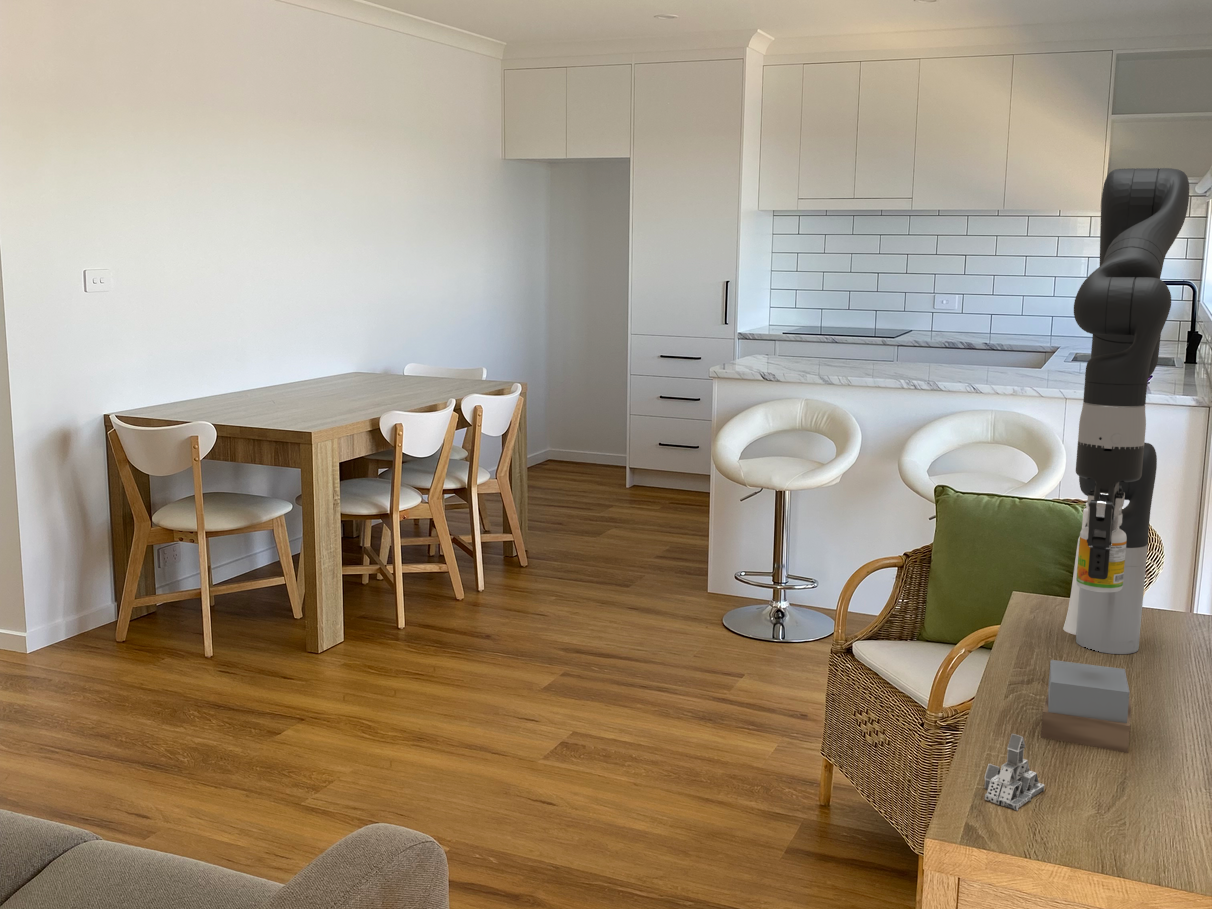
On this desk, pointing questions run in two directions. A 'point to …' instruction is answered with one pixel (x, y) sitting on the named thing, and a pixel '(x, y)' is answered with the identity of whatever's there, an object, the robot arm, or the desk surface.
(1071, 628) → the cosmetic bottle
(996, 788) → the house of cards
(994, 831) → the desk surface
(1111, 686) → the top block
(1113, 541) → the supplement bottle
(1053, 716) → the base block
